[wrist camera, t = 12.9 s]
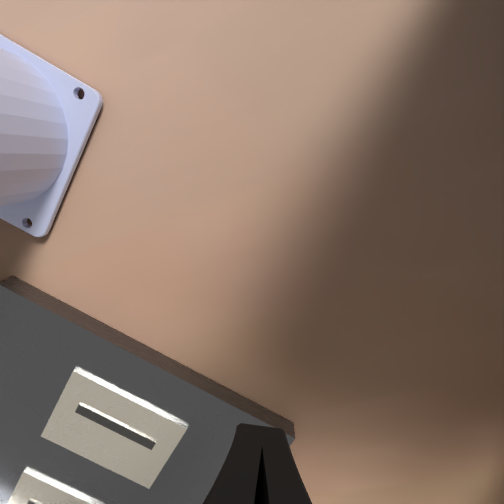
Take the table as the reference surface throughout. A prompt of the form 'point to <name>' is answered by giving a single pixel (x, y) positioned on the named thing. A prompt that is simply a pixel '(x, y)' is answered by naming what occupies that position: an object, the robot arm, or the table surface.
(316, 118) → the table surface
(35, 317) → the panel
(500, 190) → the table surface
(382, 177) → the table surface
